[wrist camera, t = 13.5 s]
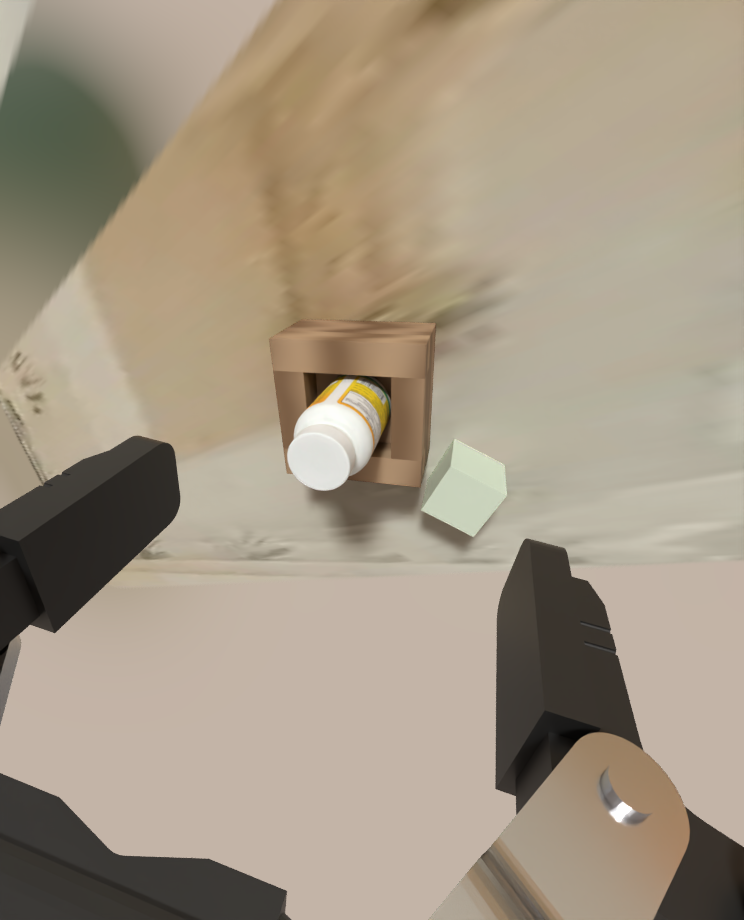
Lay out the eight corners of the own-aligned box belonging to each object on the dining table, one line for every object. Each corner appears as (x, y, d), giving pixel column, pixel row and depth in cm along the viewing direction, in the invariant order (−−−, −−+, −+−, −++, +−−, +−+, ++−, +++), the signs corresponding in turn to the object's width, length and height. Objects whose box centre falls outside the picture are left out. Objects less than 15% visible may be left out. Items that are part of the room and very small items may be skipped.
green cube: (504, 464, 38) (506, 495, 34) (474, 503, 41) (473, 537, 37) (454, 438, 38) (450, 466, 34) (427, 479, 41) (421, 510, 37)
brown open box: (436, 323, 34) (426, 344, 28) (429, 448, 39) (420, 487, 34) (302, 319, 36) (268, 338, 30) (313, 438, 41) (286, 473, 36)
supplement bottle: (391, 371, 32) (359, 424, 24) (393, 436, 35) (365, 504, 27) (322, 369, 33) (269, 419, 25) (329, 432, 36) (283, 496, 28)
